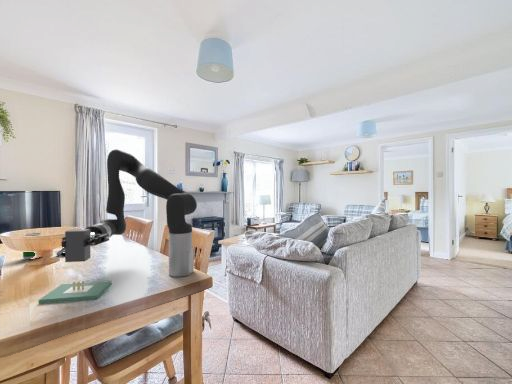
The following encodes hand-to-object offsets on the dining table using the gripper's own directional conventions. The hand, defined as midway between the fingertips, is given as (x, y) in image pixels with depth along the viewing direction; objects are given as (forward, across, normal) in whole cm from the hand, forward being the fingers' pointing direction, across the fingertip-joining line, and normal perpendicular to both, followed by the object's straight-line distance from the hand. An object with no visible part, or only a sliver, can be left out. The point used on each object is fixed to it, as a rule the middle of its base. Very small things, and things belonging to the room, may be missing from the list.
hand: (74, 243), depth 78 cm
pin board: (-2, 0, +17) cm, 17 cm away
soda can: (-51, -42, +18) cm, 68 cm away
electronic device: (-58, -30, +18) cm, 68 cm away
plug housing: (-3, 0, +6) cm, 7 cm away
